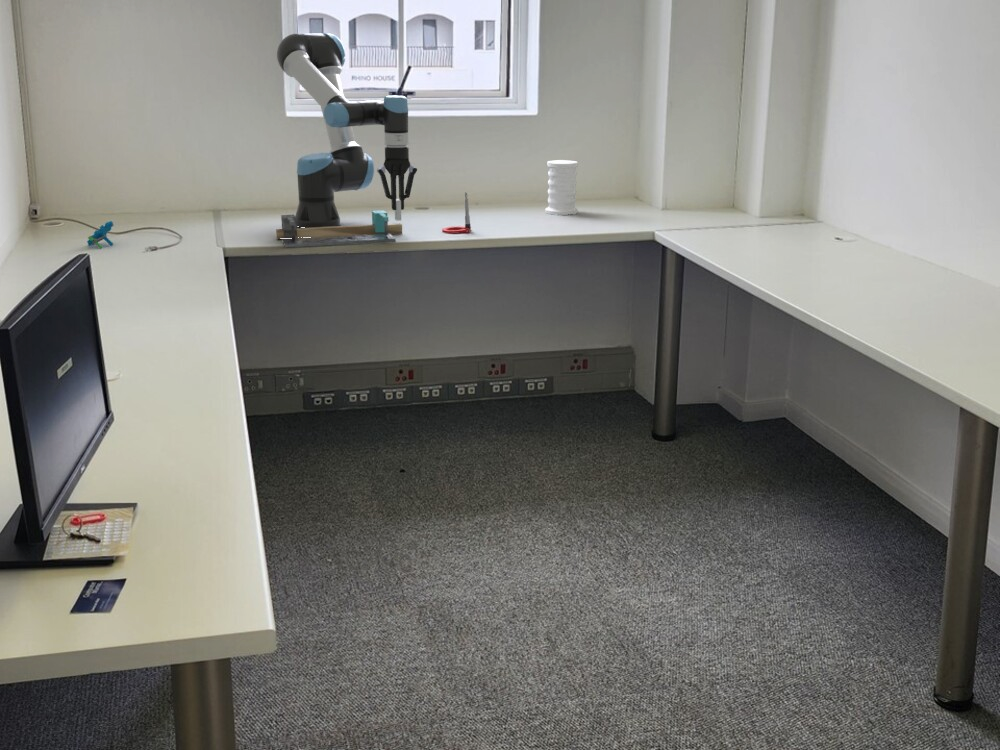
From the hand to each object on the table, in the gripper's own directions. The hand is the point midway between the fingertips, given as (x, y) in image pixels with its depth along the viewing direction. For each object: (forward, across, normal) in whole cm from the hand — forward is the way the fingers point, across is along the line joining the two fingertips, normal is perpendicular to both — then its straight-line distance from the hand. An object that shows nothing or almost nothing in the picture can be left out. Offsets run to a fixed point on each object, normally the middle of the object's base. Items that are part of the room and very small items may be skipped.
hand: (398, 219), depth 365 cm
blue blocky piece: (+5, -92, +5) cm, 92 cm away
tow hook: (+5, +19, -2) cm, 20 cm away
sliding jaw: (+3, -6, -4) cm, 8 cm away
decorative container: (+5, +65, +22) cm, 69 cm away
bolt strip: (+4, -21, -10) cm, 24 cm away
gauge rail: (+4, -19, -4) cm, 20 cm away
